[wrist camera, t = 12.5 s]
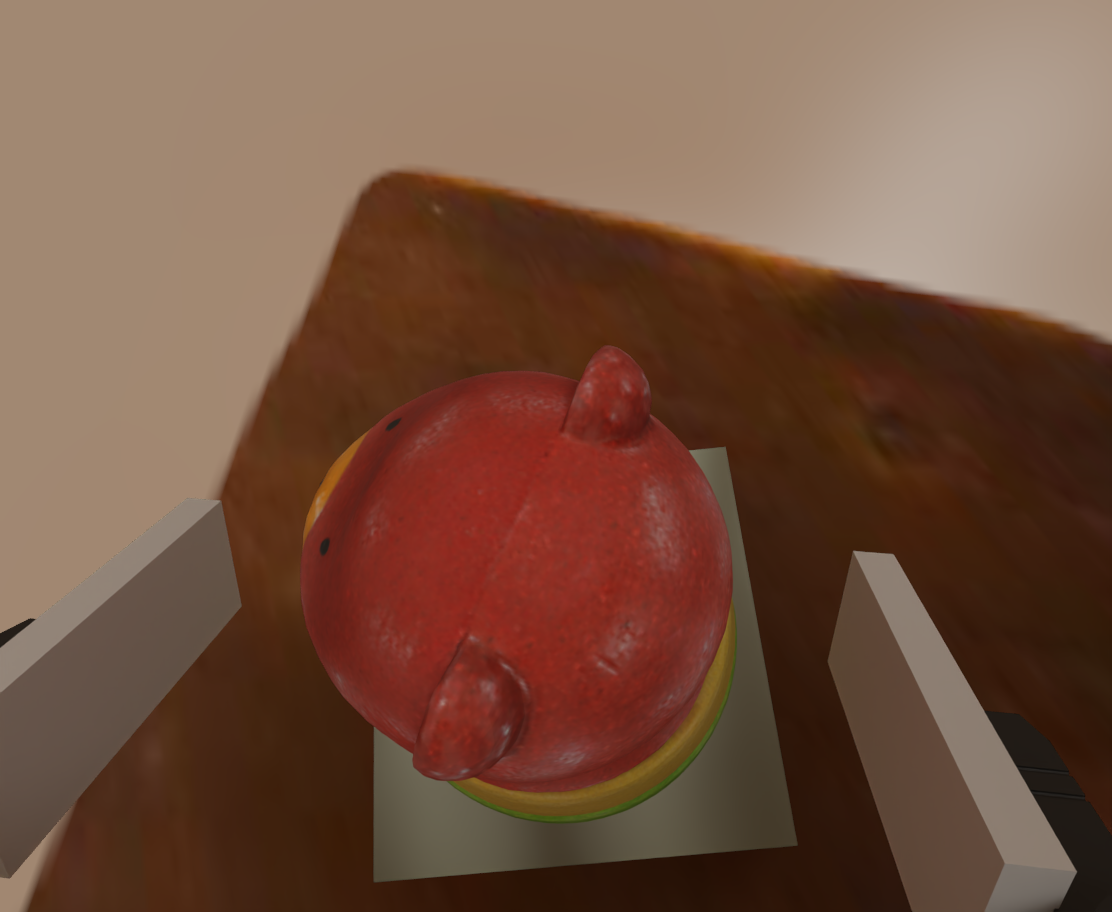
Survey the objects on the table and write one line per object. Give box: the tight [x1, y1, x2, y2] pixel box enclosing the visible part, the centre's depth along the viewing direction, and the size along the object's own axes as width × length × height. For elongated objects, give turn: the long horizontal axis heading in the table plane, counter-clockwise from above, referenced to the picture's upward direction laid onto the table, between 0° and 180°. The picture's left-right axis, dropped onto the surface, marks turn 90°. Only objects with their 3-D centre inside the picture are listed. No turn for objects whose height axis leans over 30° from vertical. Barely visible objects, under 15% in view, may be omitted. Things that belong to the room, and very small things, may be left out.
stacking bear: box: [300, 345, 737, 824], centre depth 18 cm, size 11×10×18 cm
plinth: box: [374, 447, 798, 882], centre depth 27 cm, size 14×14×3 cm
